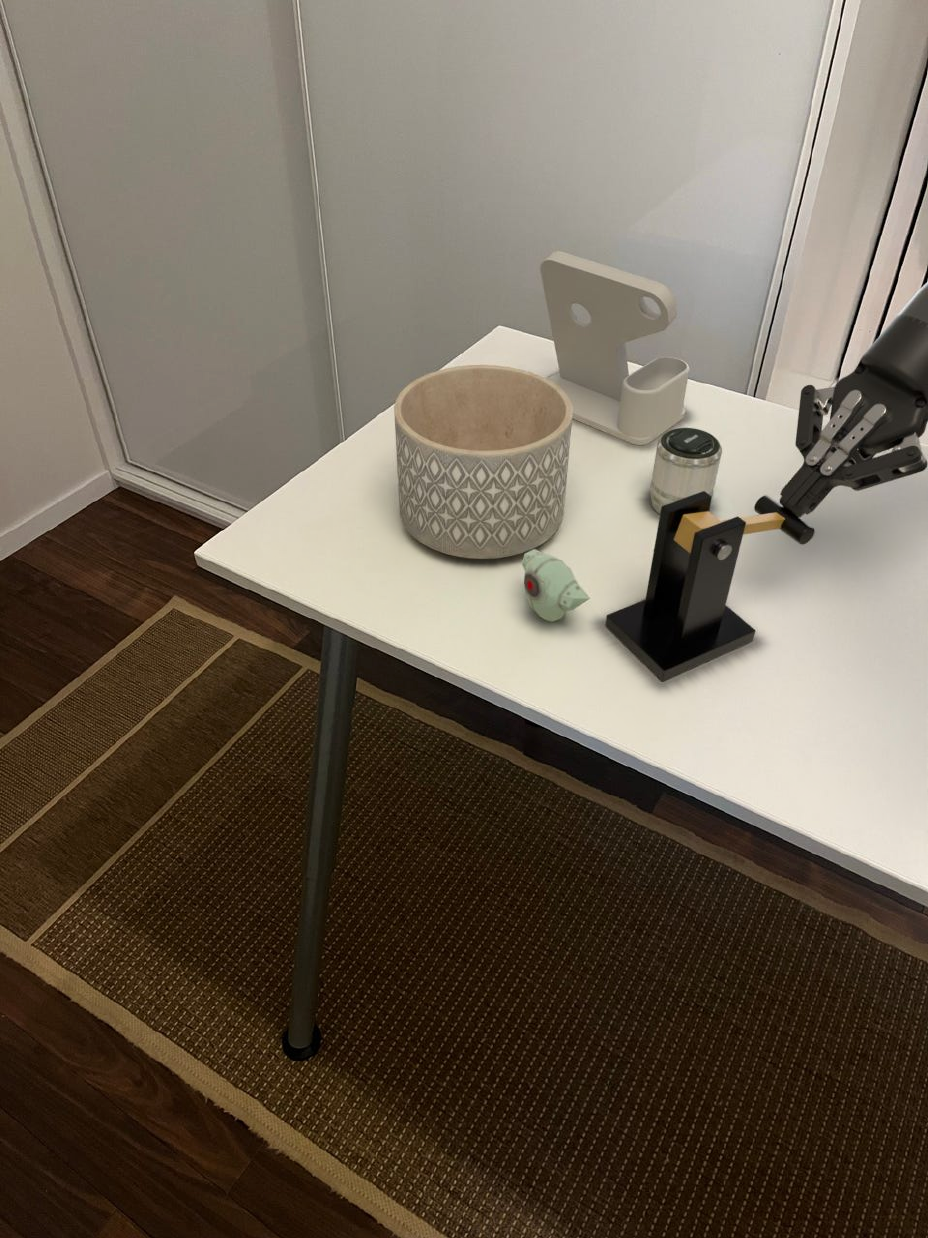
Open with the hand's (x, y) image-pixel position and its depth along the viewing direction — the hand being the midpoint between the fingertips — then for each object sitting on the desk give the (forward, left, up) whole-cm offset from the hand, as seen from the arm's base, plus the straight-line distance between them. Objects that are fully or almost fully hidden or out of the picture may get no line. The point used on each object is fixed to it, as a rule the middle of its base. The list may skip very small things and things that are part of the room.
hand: (789, 510), depth 80 cm
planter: (+27, +8, -10) cm, 30 cm away
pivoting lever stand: (+3, +10, -10) cm, 14 cm away
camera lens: (+13, -7, -10) cm, 18 cm away
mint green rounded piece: (+13, +16, -10) cm, 23 cm away
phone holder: (+30, -19, -10) cm, 37 cm away
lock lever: (+2, +5, -1) cm, 6 cm away
